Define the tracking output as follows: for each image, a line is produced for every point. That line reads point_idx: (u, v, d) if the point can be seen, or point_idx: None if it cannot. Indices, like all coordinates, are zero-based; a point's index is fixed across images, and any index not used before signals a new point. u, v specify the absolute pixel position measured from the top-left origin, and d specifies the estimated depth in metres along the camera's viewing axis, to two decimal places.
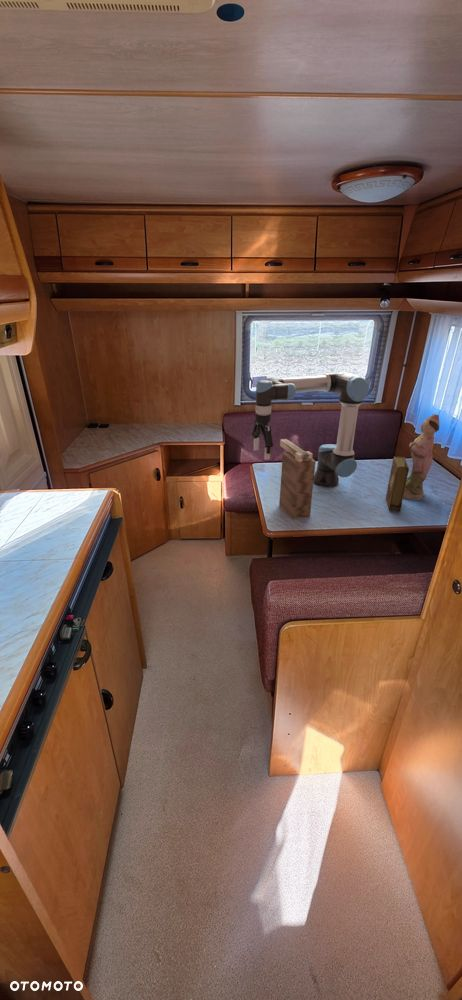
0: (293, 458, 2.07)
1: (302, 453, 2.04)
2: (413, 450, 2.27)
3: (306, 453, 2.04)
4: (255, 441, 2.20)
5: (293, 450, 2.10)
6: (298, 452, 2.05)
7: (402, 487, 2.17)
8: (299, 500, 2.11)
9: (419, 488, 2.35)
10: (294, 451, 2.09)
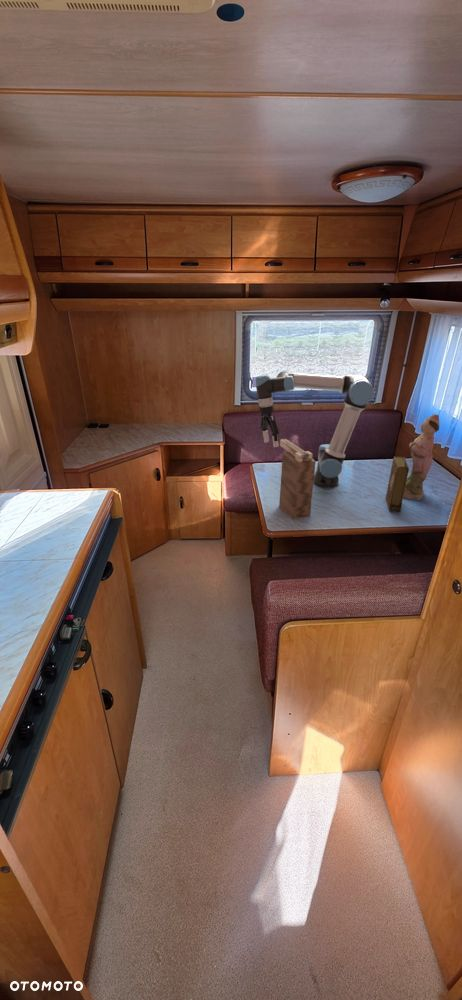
0: (293, 458, 2.07)
1: (302, 453, 2.04)
2: (413, 450, 2.27)
3: (306, 453, 2.04)
4: (264, 433, 2.38)
5: (293, 450, 2.10)
6: (298, 452, 2.05)
7: (402, 487, 2.17)
8: (299, 500, 2.11)
9: (419, 488, 2.35)
10: (294, 451, 2.09)
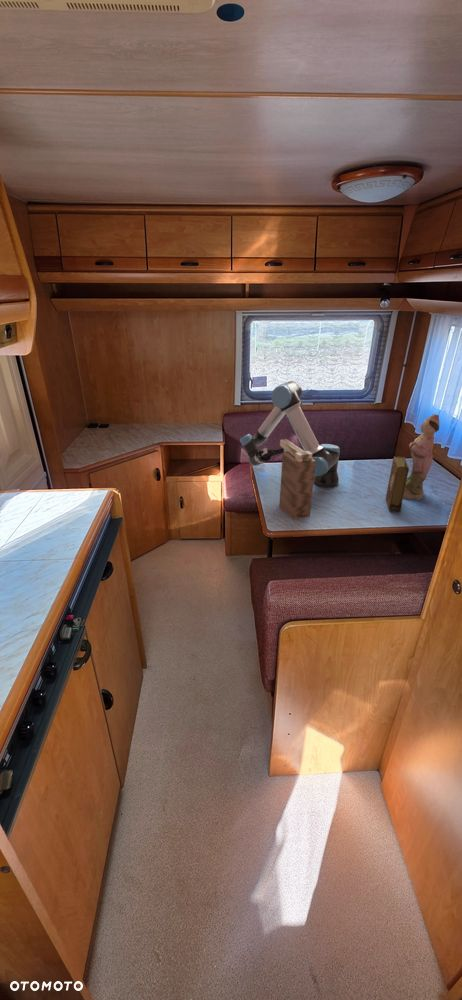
0: (293, 458, 2.07)
1: (302, 453, 2.04)
2: (413, 450, 2.27)
3: (306, 453, 2.04)
4: (285, 450, 2.37)
5: (293, 450, 2.10)
6: (298, 452, 2.05)
7: (402, 487, 2.17)
8: (299, 500, 2.11)
9: (419, 488, 2.35)
10: (294, 451, 2.09)
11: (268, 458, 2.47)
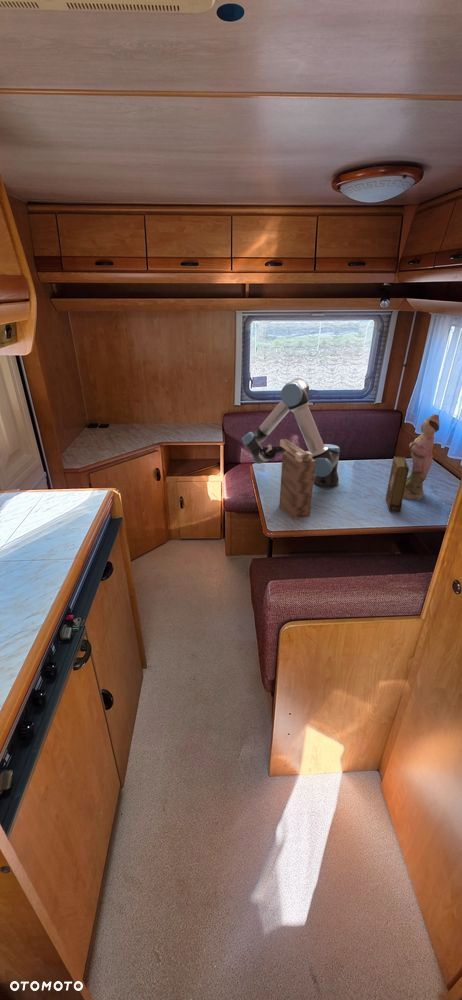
0: (293, 458, 2.07)
1: (302, 453, 2.04)
2: (413, 450, 2.27)
3: (306, 453, 2.04)
4: None
5: (293, 450, 2.10)
6: (298, 452, 2.05)
7: (402, 487, 2.17)
8: (299, 500, 2.11)
9: (419, 488, 2.35)
10: (294, 451, 2.09)
11: (273, 455, 2.39)
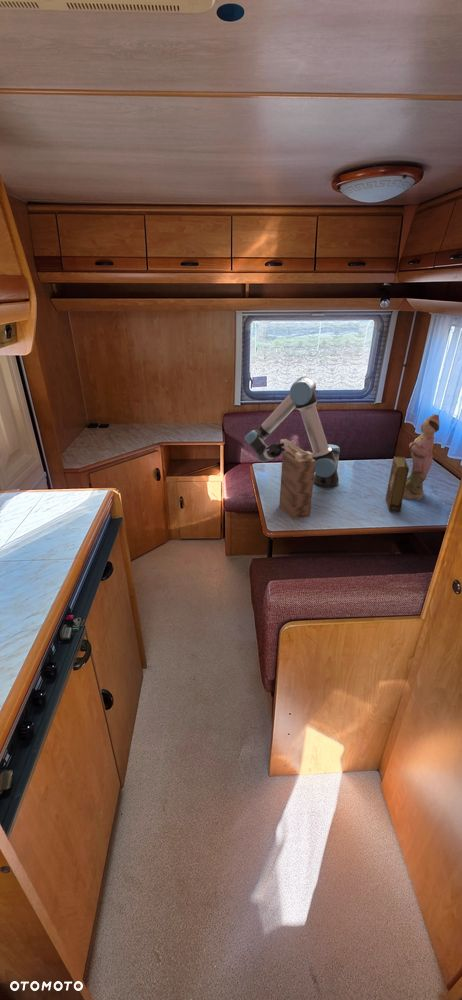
0: (293, 458, 2.07)
1: (302, 453, 2.04)
2: (413, 450, 2.27)
3: (306, 453, 2.04)
4: None
5: (293, 450, 2.10)
6: (298, 452, 2.05)
7: (402, 487, 2.17)
8: (299, 500, 2.11)
9: (419, 488, 2.35)
10: (294, 451, 2.09)
11: (278, 453, 2.34)
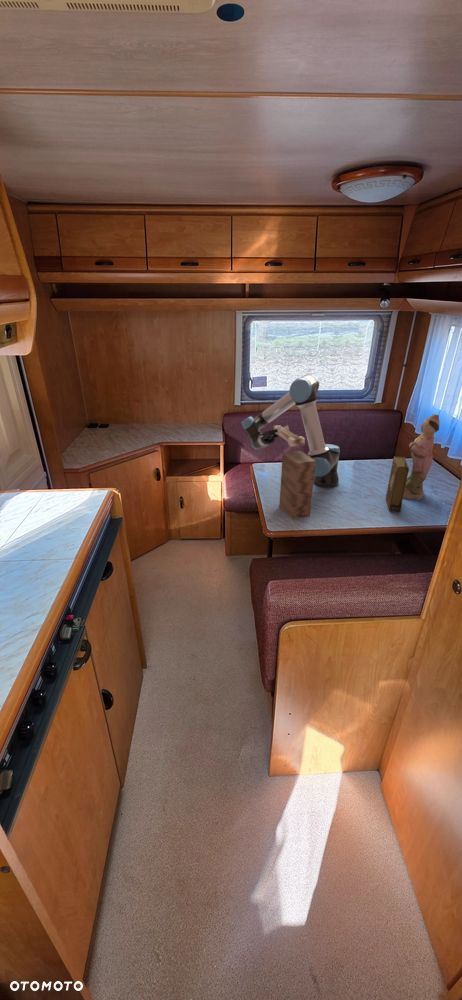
0: (293, 458, 2.07)
1: (295, 437, 2.09)
2: (413, 450, 2.27)
3: (299, 438, 2.08)
4: None
5: (286, 435, 2.15)
6: (291, 437, 2.10)
7: (402, 487, 2.17)
8: (299, 500, 2.11)
9: (419, 488, 2.35)
10: (287, 436, 2.14)
11: (272, 440, 2.38)
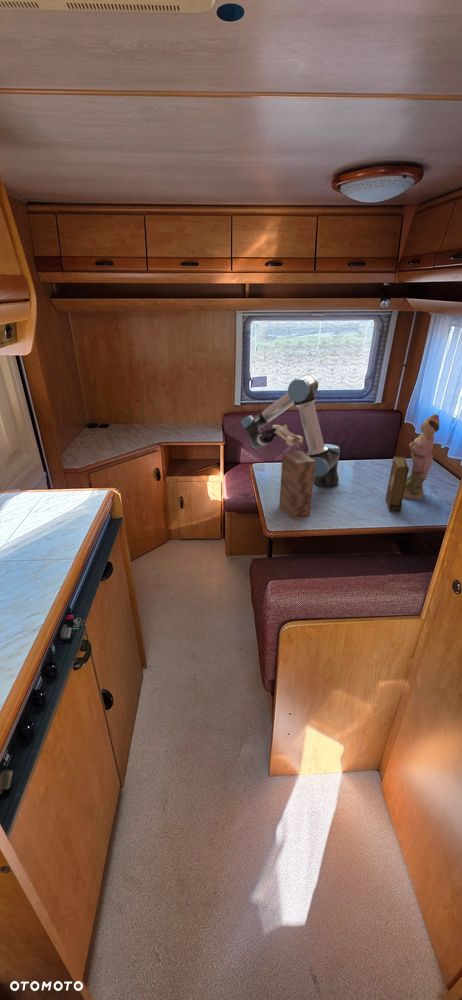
0: (293, 458, 2.07)
1: (293, 437, 2.10)
2: (413, 450, 2.27)
3: (297, 437, 2.10)
4: None
5: (284, 434, 2.16)
6: (289, 436, 2.11)
7: (402, 487, 2.17)
8: (299, 500, 2.11)
9: (419, 488, 2.35)
10: (285, 435, 2.16)
11: (270, 439, 2.40)
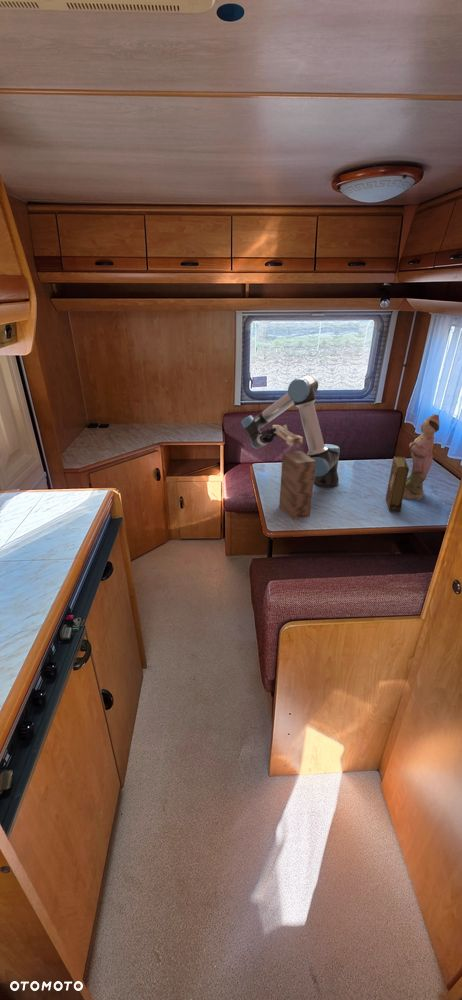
0: (293, 458, 2.07)
1: (293, 437, 2.10)
2: (413, 450, 2.27)
3: (297, 437, 2.10)
4: None
5: (284, 434, 2.16)
6: (289, 436, 2.11)
7: (402, 487, 2.17)
8: (299, 500, 2.11)
9: (419, 488, 2.35)
10: (285, 435, 2.16)
11: (270, 439, 2.40)
